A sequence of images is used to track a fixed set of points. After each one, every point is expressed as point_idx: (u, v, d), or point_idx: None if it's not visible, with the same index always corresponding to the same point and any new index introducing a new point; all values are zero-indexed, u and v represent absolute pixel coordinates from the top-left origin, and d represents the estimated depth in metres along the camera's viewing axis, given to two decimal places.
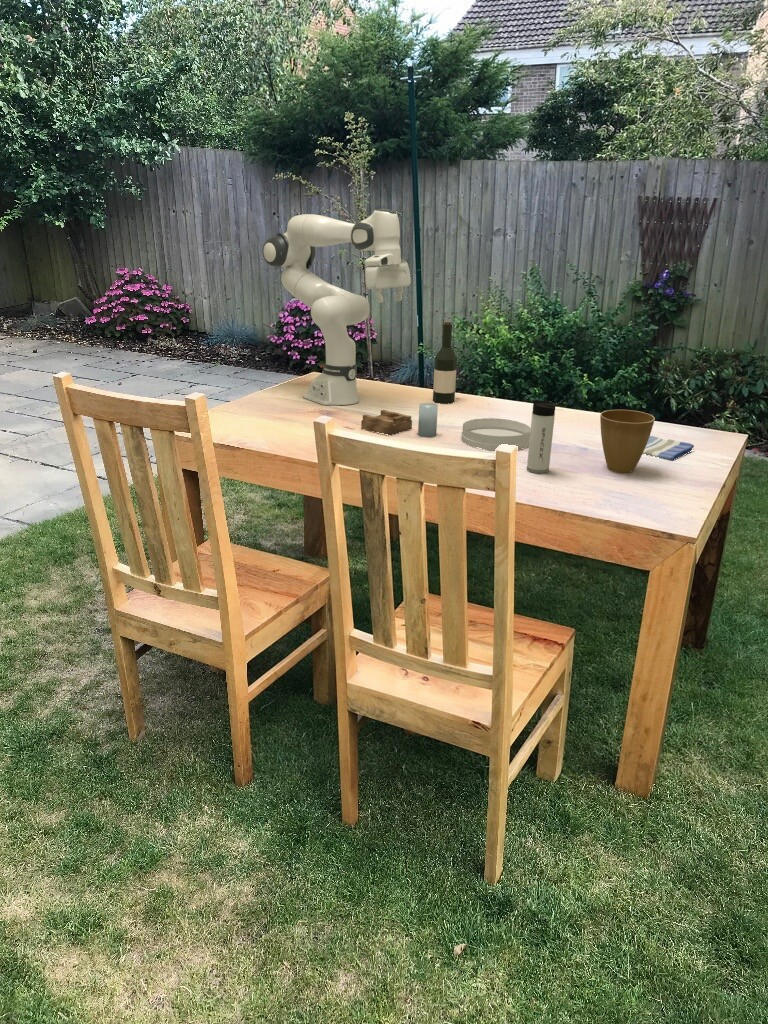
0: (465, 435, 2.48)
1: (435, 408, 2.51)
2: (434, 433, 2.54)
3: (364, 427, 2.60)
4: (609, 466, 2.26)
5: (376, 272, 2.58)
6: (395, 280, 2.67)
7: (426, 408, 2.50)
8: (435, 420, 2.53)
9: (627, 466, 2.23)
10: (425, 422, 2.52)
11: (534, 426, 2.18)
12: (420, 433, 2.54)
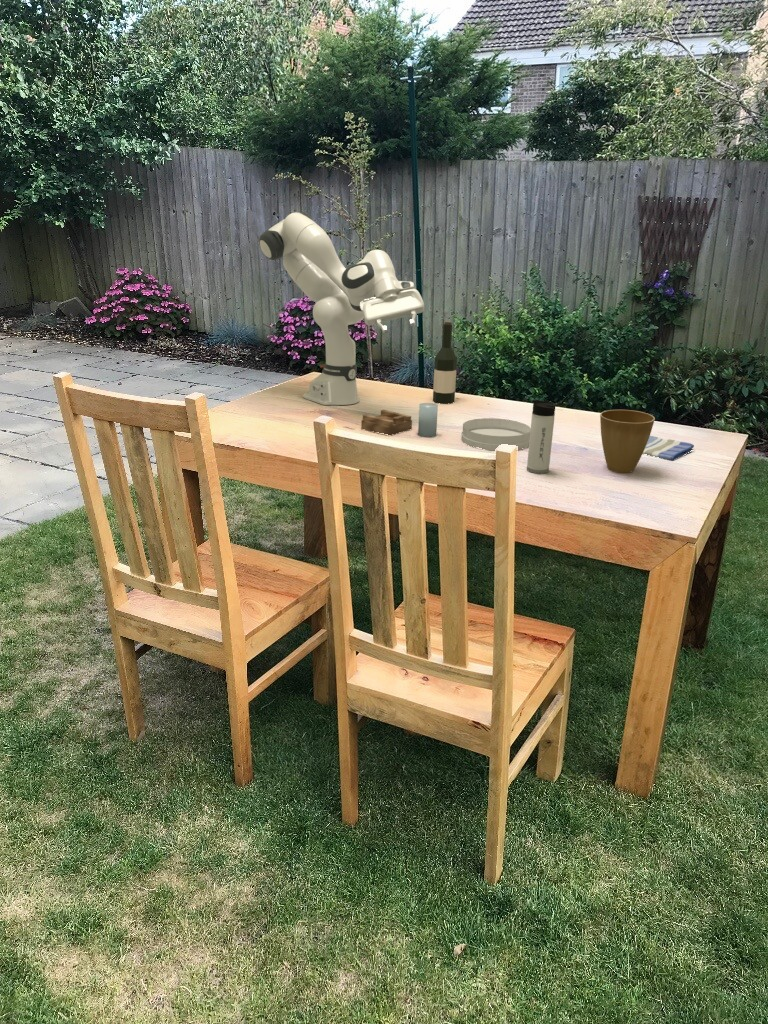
0: (465, 435, 2.48)
1: (435, 408, 2.51)
2: (434, 433, 2.54)
3: (364, 427, 2.60)
4: (609, 466, 2.26)
5: None
6: None
7: (426, 408, 2.50)
8: (435, 420, 2.53)
9: (627, 466, 2.23)
10: (425, 422, 2.52)
11: (534, 426, 2.18)
12: (420, 433, 2.54)
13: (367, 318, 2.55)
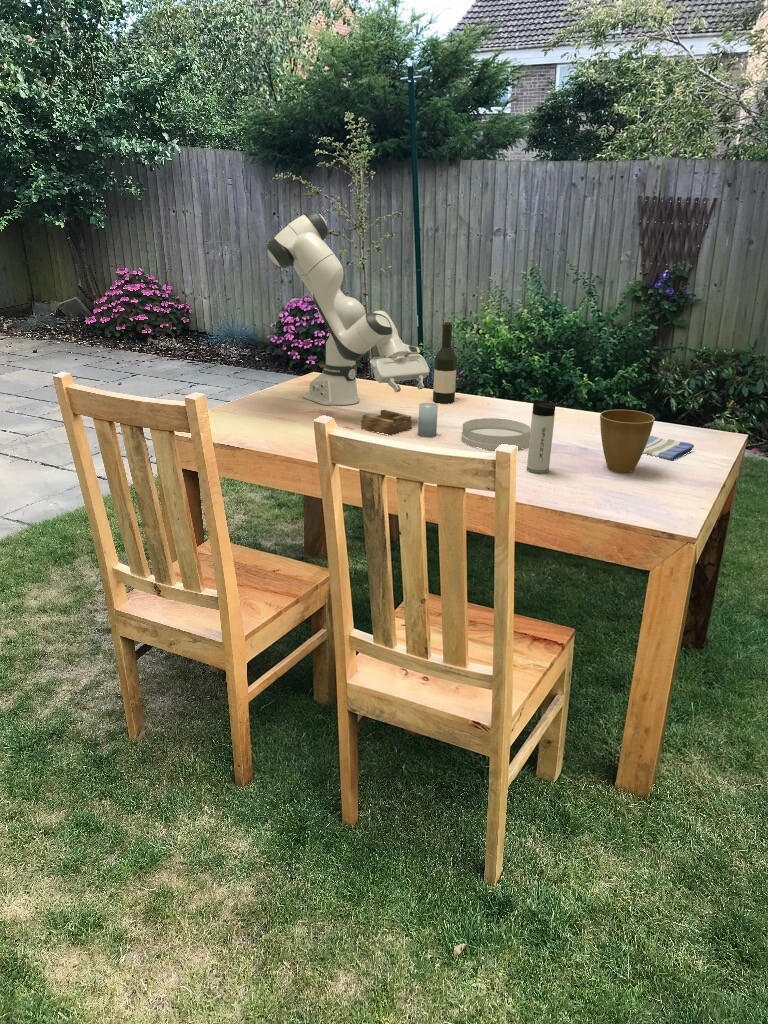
0: (465, 435, 2.48)
1: (435, 408, 2.51)
2: (434, 433, 2.54)
3: (364, 427, 2.60)
4: (609, 466, 2.26)
5: None
6: None
7: (426, 408, 2.50)
8: (435, 420, 2.53)
9: (627, 466, 2.23)
10: (425, 422, 2.52)
11: (534, 426, 2.18)
12: (420, 433, 2.54)
13: (382, 375, 2.54)
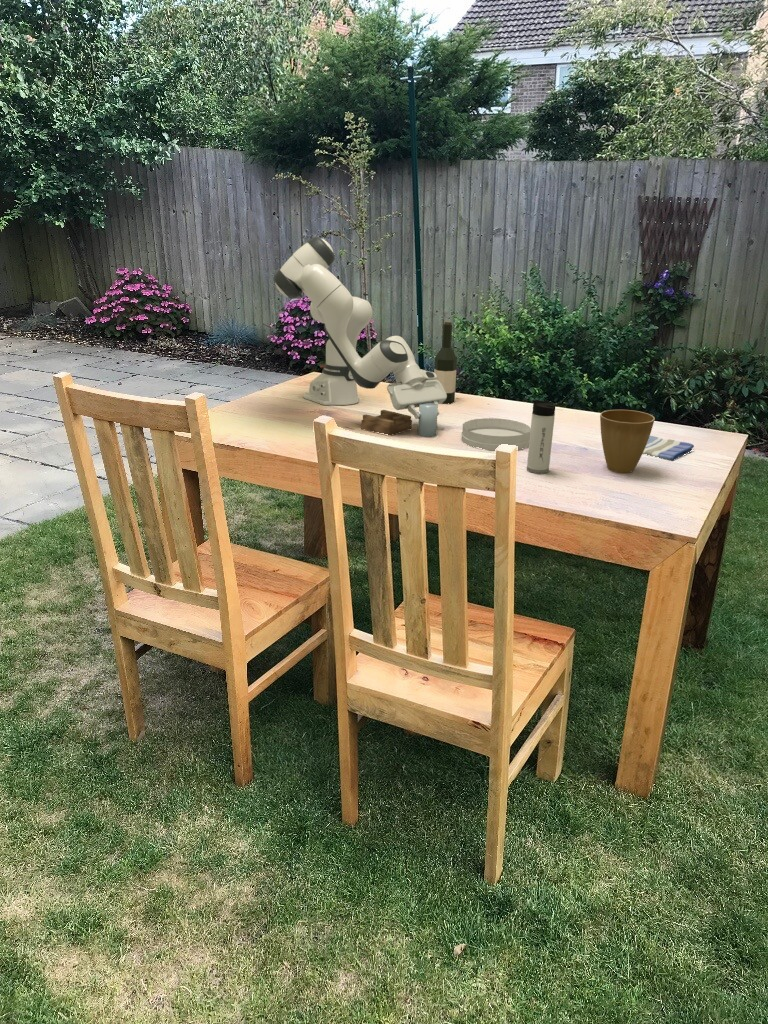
0: (465, 435, 2.48)
1: (435, 408, 2.51)
2: (434, 433, 2.54)
3: (364, 427, 2.60)
4: (609, 466, 2.26)
5: None
6: None
7: (426, 408, 2.50)
8: (435, 420, 2.53)
9: (627, 466, 2.23)
10: (425, 422, 2.52)
11: (534, 426, 2.18)
12: (420, 433, 2.54)
13: (400, 402, 2.50)
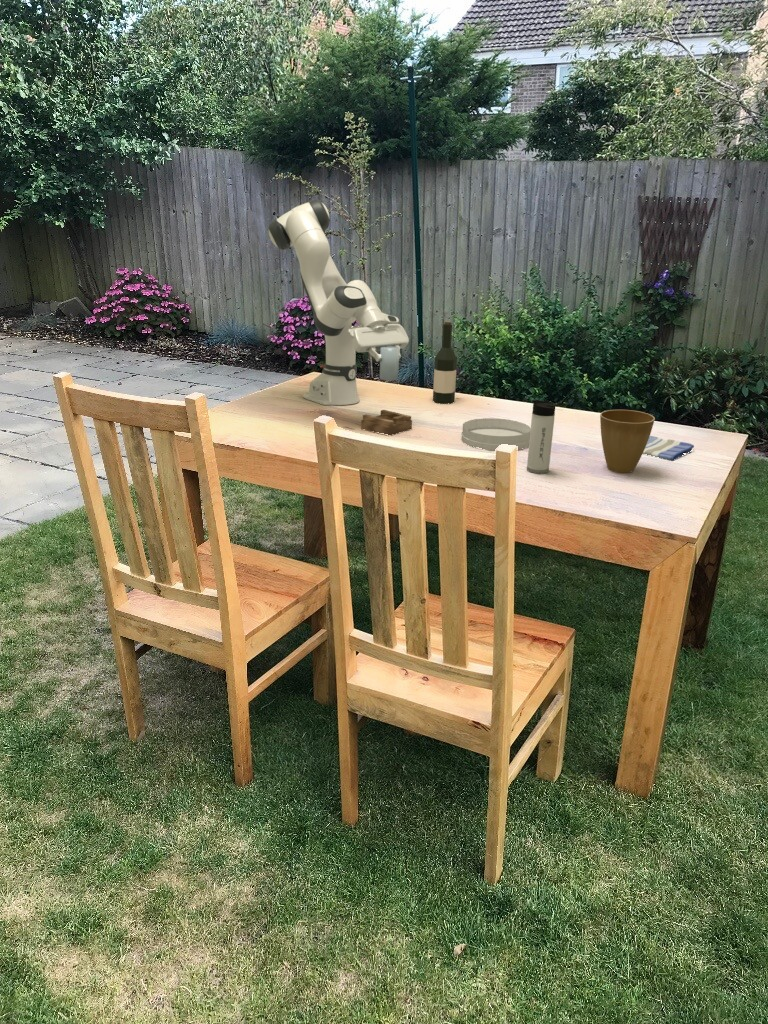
0: (465, 435, 2.47)
1: (396, 350, 2.51)
2: (396, 376, 2.54)
3: (364, 427, 2.60)
4: (609, 466, 2.26)
5: None
6: None
7: (387, 350, 2.50)
8: (396, 363, 2.52)
9: (627, 466, 2.23)
10: (386, 364, 2.51)
11: (534, 426, 2.18)
12: (382, 376, 2.54)
13: (361, 344, 2.49)
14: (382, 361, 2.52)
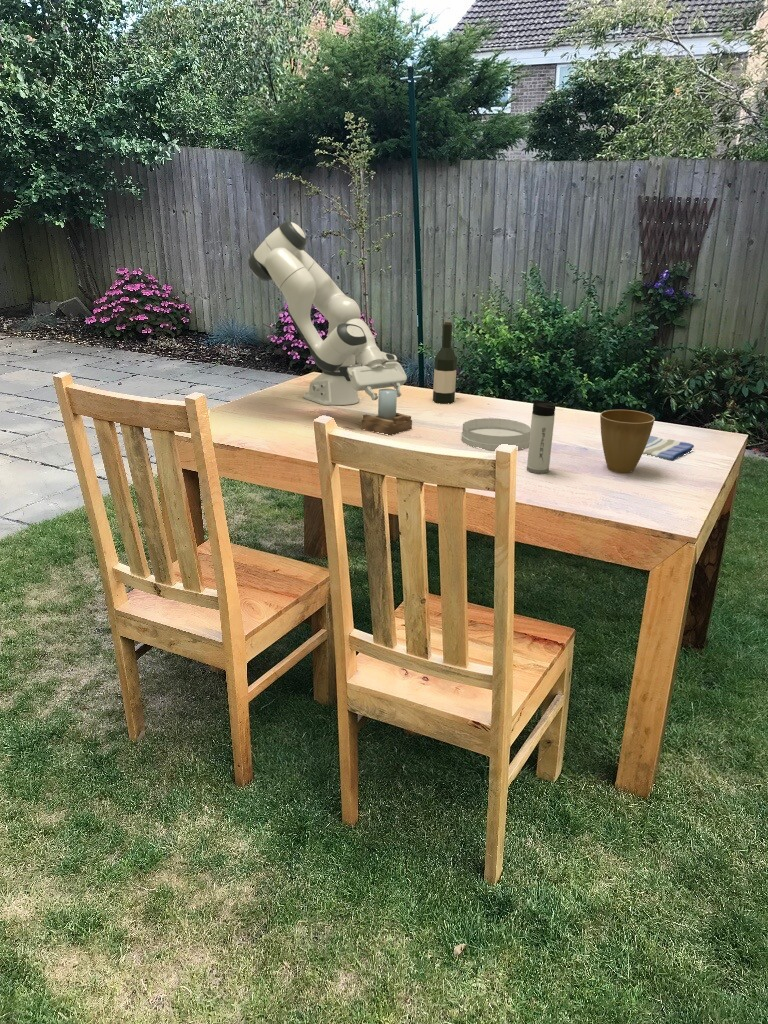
0: (465, 435, 2.47)
1: (394, 393, 2.56)
2: None
3: (364, 427, 2.60)
4: (609, 466, 2.26)
5: None
6: None
7: (385, 393, 2.55)
8: (394, 405, 2.57)
9: (627, 466, 2.23)
10: (384, 407, 2.56)
11: (534, 426, 2.18)
12: None
13: (359, 383, 2.53)
14: (380, 404, 2.57)
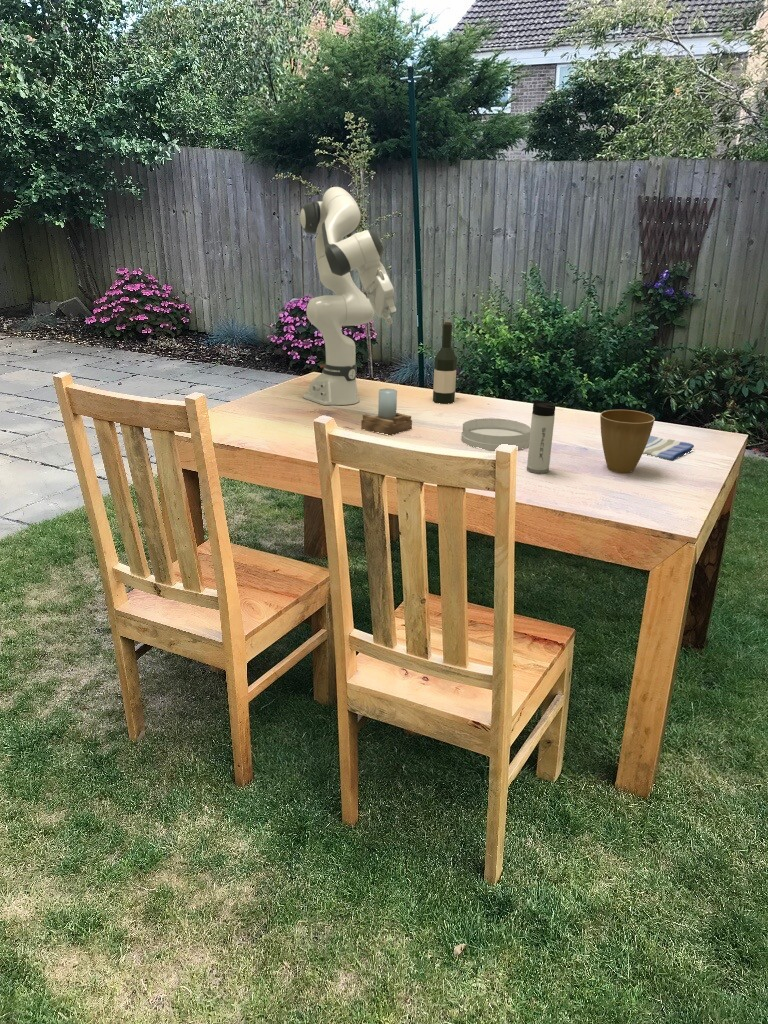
0: (465, 435, 2.47)
1: (394, 394, 2.56)
2: None
3: (364, 427, 2.60)
4: (609, 466, 2.26)
5: (371, 305, 2.66)
6: (379, 299, 2.55)
7: (385, 393, 2.55)
8: (394, 405, 2.57)
9: (627, 466, 2.23)
10: (384, 407, 2.56)
11: (534, 426, 2.18)
12: None
13: (393, 289, 2.48)
14: (380, 404, 2.57)
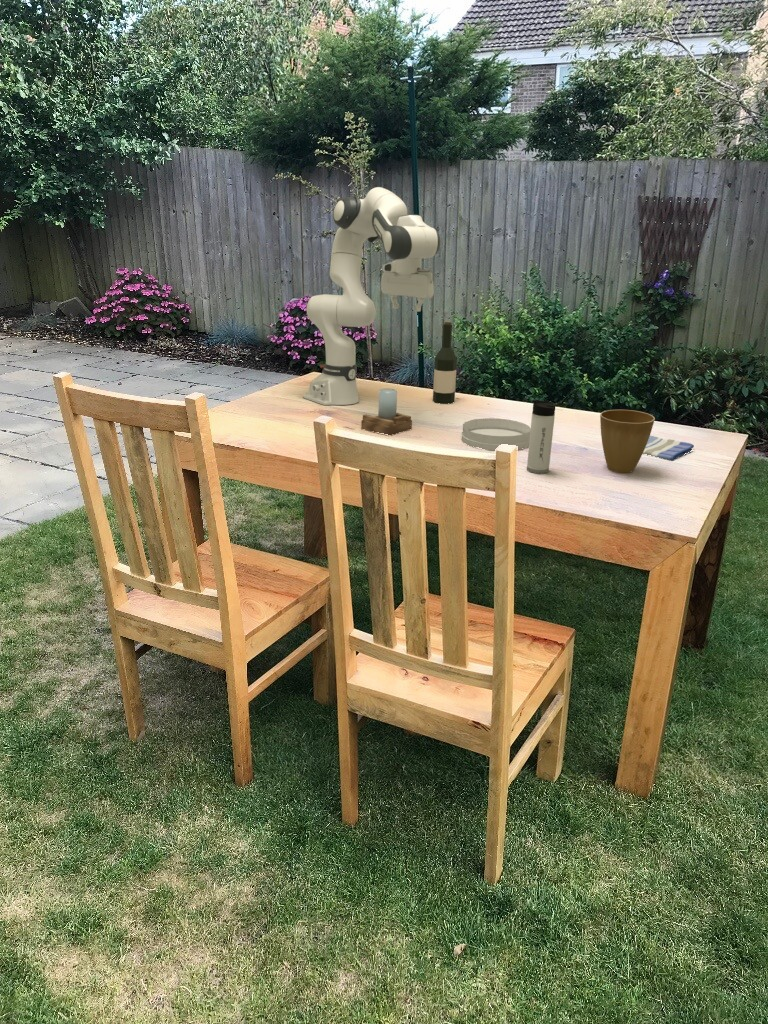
0: (465, 435, 2.47)
1: (394, 394, 2.55)
2: None
3: (364, 427, 2.60)
4: (609, 466, 2.26)
5: (382, 277, 2.64)
6: (407, 289, 2.59)
7: (385, 393, 2.55)
8: (394, 405, 2.57)
9: (627, 466, 2.23)
10: (384, 407, 2.56)
11: (534, 426, 2.18)
12: None
13: None
14: (380, 404, 2.57)
